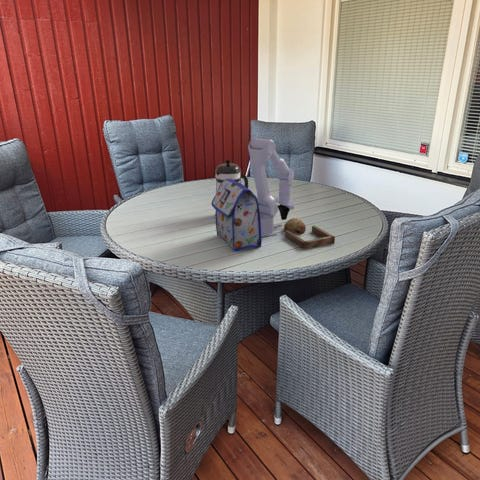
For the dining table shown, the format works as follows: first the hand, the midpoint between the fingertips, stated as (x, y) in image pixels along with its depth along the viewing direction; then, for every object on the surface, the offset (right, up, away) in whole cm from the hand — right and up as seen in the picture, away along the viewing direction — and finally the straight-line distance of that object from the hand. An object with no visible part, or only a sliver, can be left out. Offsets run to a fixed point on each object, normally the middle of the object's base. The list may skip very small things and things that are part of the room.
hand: (283, 219), depth 197 cm
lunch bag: (-23, -11, -19) cm, 32 cm away
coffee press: (-27, +2, +13) cm, 30 cm away
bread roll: (+4, -6, -7) cm, 10 cm away
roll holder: (+9, -10, -18) cm, 23 cm away
